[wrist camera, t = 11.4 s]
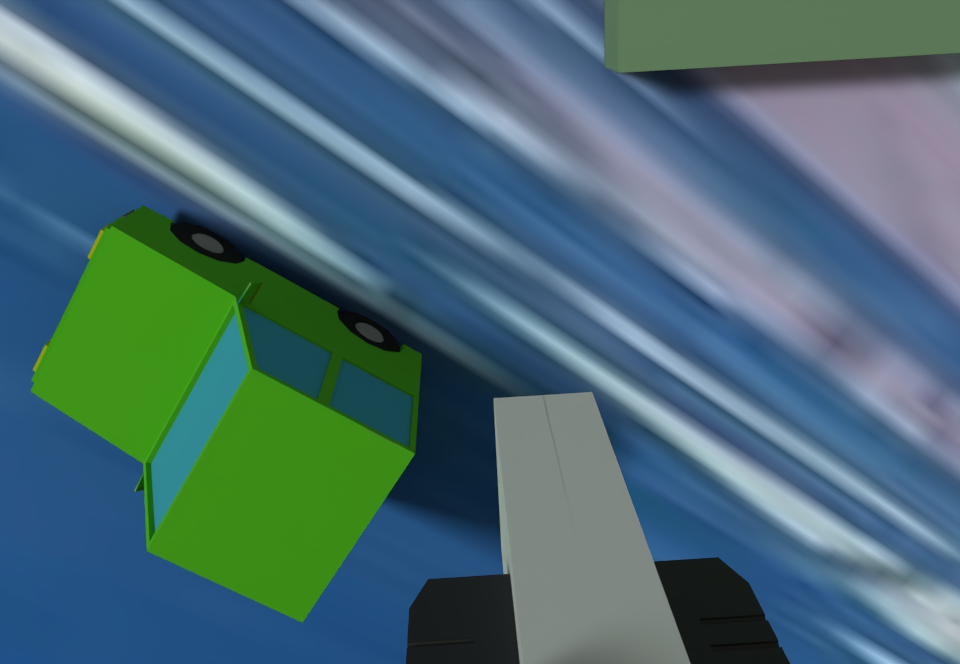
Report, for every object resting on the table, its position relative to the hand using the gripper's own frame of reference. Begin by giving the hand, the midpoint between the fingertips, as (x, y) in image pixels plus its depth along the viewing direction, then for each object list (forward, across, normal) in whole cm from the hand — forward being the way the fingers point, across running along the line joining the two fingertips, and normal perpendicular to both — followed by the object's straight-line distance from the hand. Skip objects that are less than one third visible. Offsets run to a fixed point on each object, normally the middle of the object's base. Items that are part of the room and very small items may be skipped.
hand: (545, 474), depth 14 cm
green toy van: (+25, +11, +7) cm, 28 cm away
